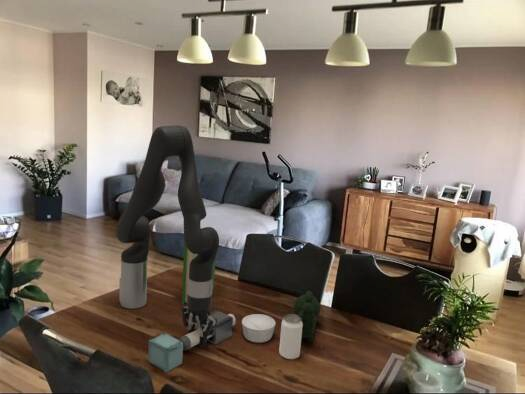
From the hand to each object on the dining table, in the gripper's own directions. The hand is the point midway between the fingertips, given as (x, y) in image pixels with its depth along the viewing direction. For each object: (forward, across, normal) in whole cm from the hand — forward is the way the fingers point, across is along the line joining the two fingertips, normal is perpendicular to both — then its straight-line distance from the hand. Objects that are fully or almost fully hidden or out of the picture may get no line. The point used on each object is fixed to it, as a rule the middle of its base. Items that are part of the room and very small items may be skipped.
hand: (197, 343), depth 131 cm
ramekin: (+1, +10, +18) cm, 21 cm away
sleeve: (+1, 0, +8) cm, 8 cm away
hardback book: (+1, -26, +26) cm, 37 cm away
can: (+1, +24, +16) cm, 29 cm away
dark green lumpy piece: (+1, +20, +32) cm, 38 cm away
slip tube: (+1, 0, +5) cm, 5 cm away
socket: (+1, 0, -13) cm, 13 cm away
